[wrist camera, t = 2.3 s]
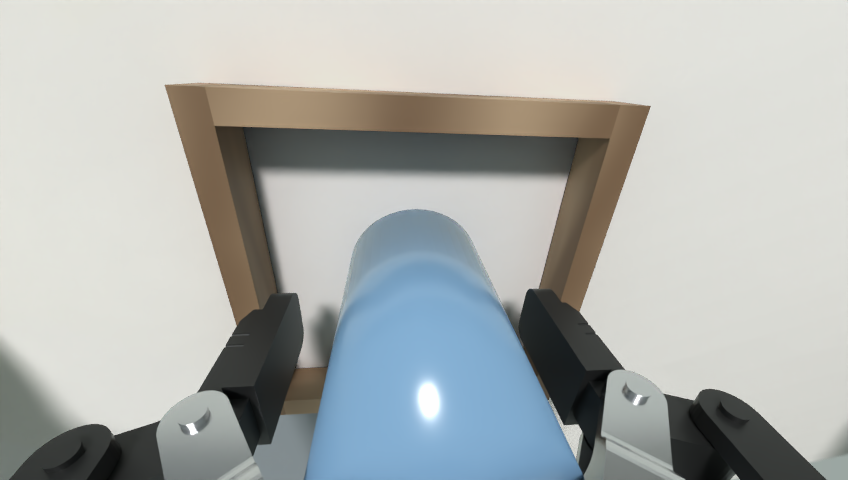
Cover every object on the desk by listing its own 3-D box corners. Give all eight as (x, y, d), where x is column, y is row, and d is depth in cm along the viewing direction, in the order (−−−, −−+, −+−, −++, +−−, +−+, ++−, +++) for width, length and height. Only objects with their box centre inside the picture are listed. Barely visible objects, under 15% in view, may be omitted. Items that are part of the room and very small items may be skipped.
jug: (346, 208, 12) (269, 447, 5) (483, 209, 13) (627, 424, 5) (357, 355, 16) (324, 627, 8) (463, 351, 17) (528, 602, 9)
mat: (410, 383, 17) (410, 386, 17) (406, 480, 22) (406, 483, 22) (217, 392, 16) (215, 395, 16) (256, 492, 21) (254, 495, 21)
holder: (614, 101, 11) (650, 106, 10) (534, 371, 18) (548, 400, 16) (200, 82, 10) (164, 85, 8) (276, 382, 17) (263, 415, 15)
